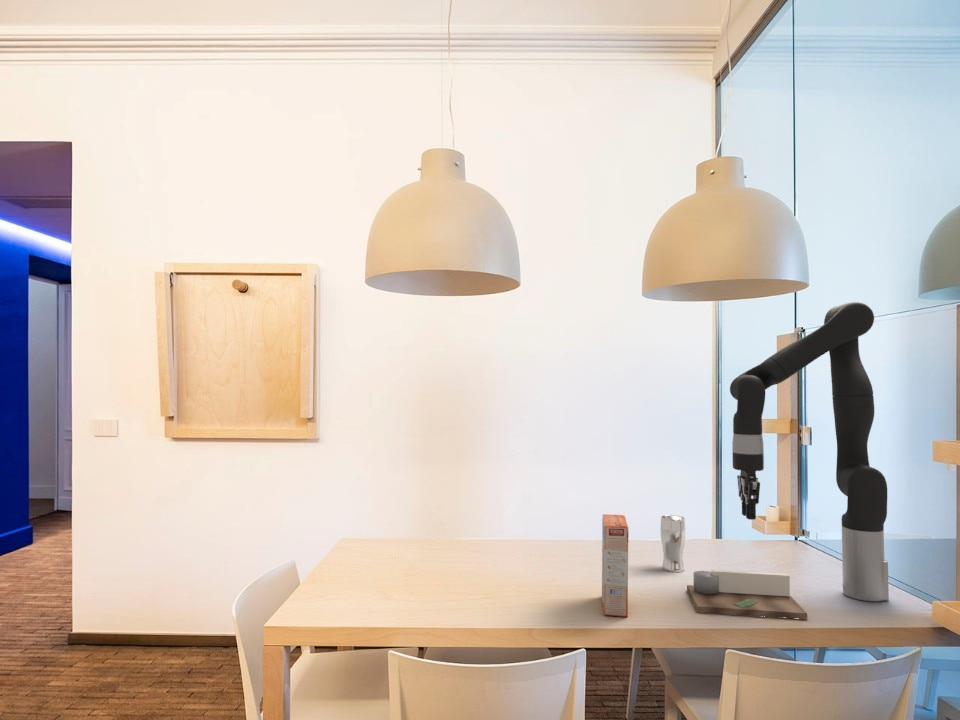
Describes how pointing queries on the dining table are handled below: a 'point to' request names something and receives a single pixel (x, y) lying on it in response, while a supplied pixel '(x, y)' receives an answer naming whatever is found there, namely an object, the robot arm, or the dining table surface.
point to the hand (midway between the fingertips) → (748, 517)
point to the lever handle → (741, 582)
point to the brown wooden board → (746, 604)
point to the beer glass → (673, 542)
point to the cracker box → (615, 565)
